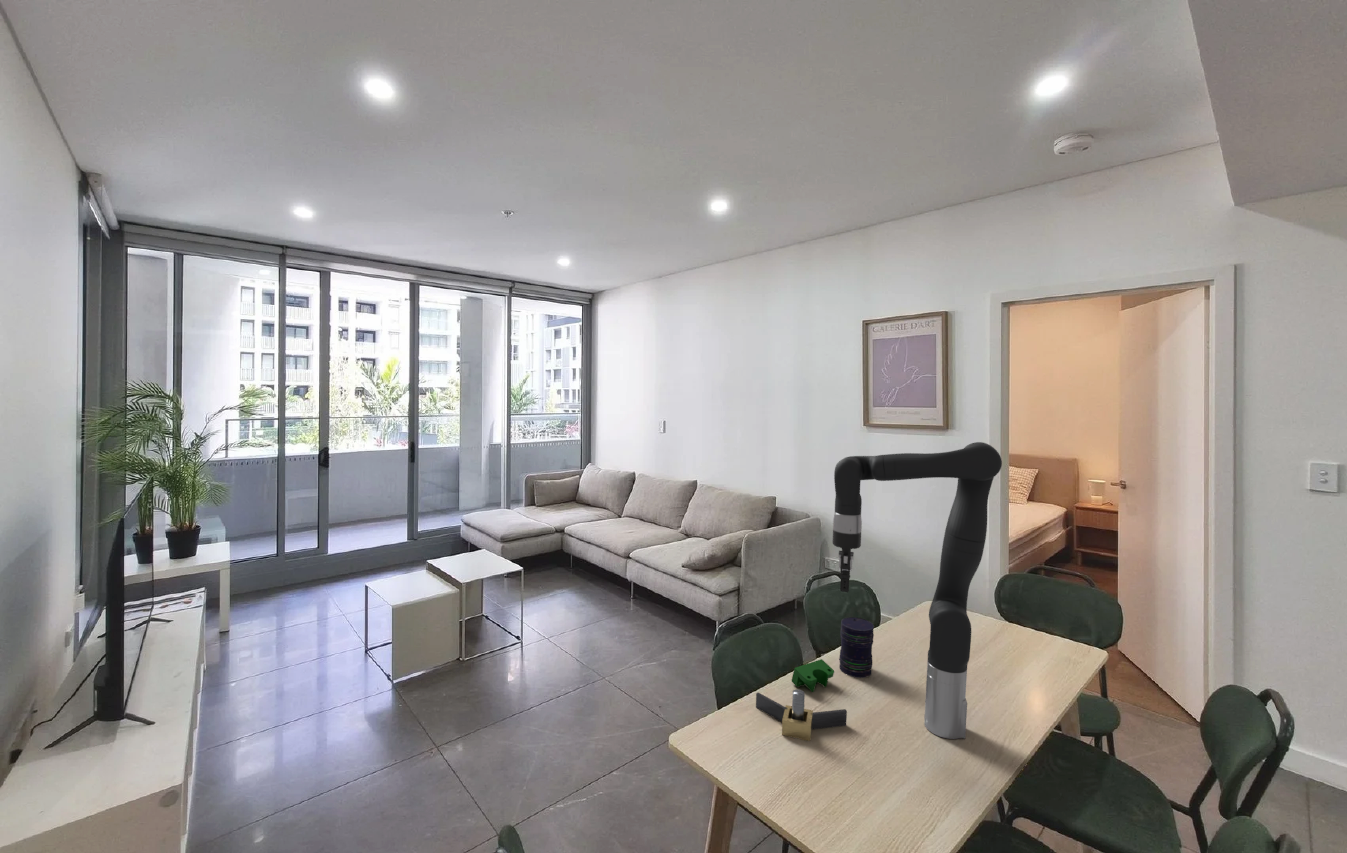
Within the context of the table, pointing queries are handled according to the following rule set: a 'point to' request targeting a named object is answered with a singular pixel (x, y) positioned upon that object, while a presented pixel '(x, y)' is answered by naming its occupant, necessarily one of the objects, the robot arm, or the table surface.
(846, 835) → the table surface
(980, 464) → the robot arm
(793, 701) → the hinge pin
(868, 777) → the table surface
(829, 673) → the clamp
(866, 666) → the storage jar
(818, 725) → the hinge
